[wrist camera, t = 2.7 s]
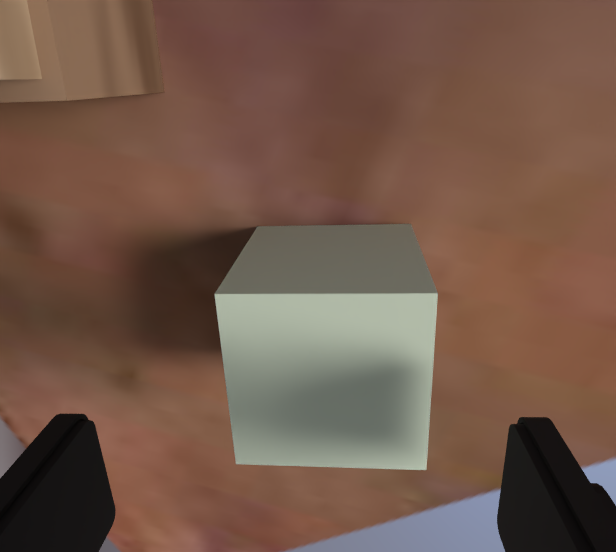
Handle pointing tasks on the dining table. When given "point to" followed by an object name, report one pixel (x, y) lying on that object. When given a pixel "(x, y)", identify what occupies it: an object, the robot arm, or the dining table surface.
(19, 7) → the beech block
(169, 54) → the dining table surface
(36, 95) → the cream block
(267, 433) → the sage block
